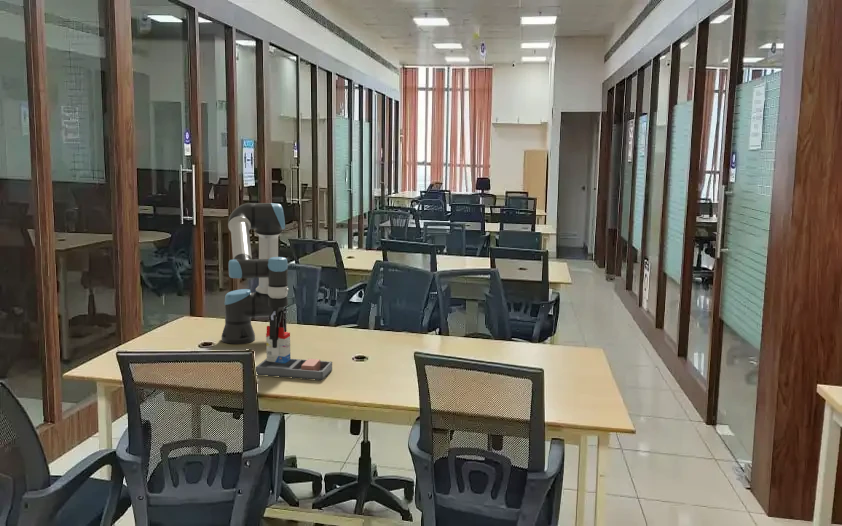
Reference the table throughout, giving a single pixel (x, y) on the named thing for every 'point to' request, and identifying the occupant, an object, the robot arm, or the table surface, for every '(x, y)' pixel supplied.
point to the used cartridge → (311, 365)
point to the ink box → (283, 346)
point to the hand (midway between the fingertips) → (278, 352)
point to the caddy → (293, 369)
